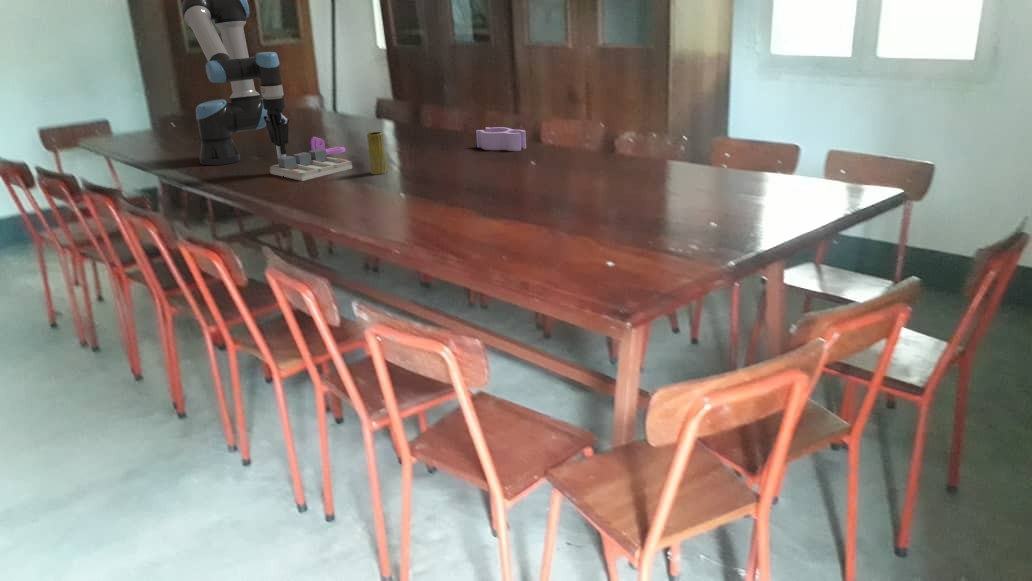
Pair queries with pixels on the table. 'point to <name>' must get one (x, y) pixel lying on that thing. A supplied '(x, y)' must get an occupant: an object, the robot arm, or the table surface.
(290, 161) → the slider
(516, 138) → the clip
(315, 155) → the slider
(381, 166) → the vase
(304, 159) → the slider
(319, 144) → the bracket
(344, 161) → the switch board
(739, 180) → the table surface
